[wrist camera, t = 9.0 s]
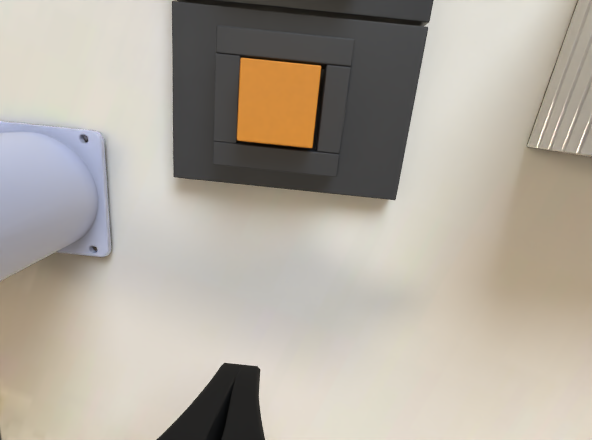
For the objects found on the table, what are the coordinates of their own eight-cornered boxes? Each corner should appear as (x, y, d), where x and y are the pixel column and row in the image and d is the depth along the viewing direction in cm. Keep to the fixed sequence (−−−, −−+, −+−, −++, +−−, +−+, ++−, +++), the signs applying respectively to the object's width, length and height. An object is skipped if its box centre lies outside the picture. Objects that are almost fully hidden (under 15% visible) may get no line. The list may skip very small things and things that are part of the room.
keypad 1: (180, 173, 21) (160, 182, 18) (180, 8, 18) (156, -13, 15) (390, 195, 21) (404, 208, 18) (421, 32, 18) (442, 16, 15)
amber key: (243, 138, 18) (236, 140, 16) (247, 63, 16) (239, 57, 15) (312, 145, 18) (312, 148, 16) (320, 70, 16) (321, 65, 15)
